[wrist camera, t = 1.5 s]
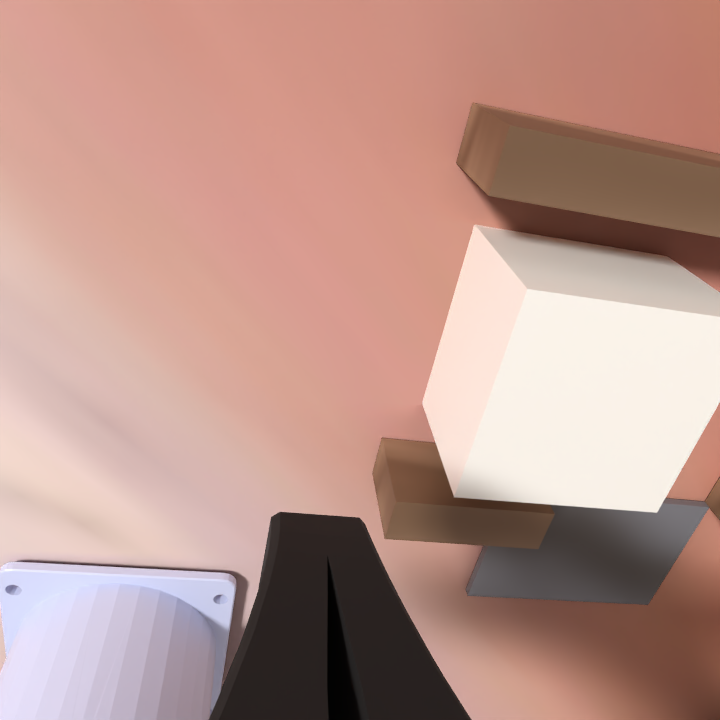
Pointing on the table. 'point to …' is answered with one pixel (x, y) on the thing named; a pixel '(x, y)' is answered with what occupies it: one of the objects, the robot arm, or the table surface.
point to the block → (572, 373)
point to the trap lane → (543, 521)
